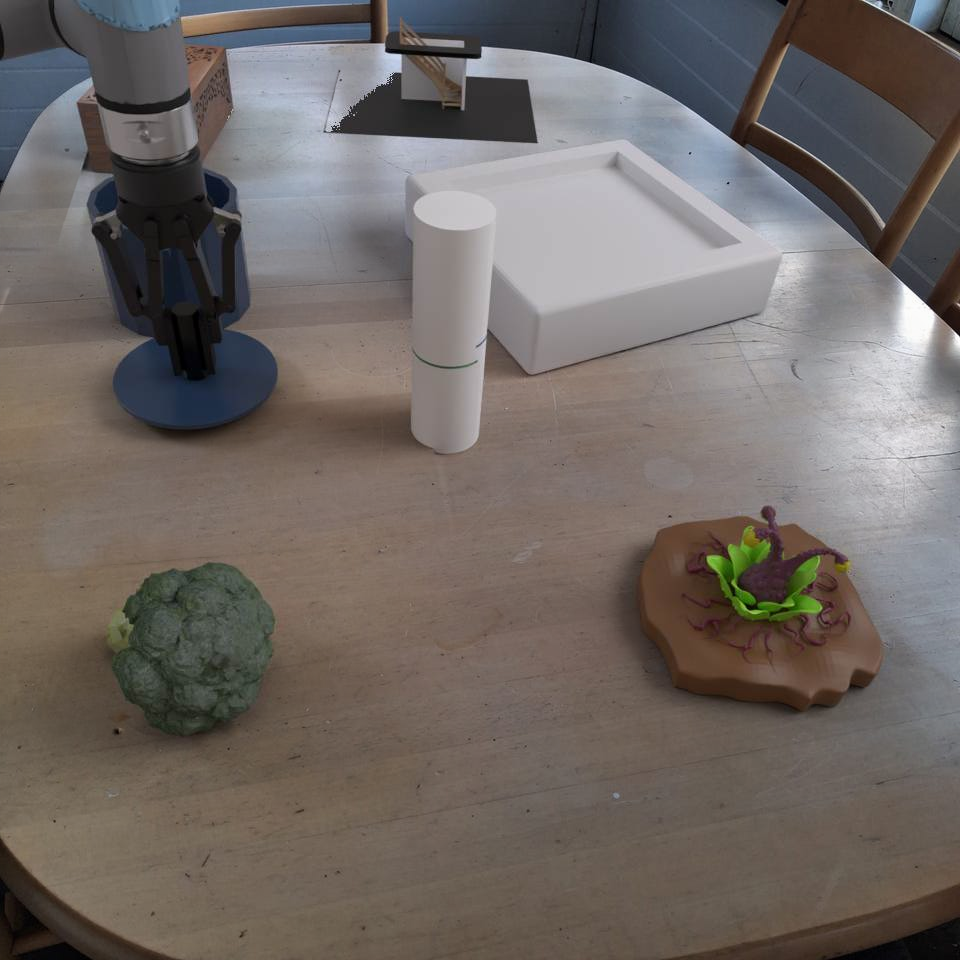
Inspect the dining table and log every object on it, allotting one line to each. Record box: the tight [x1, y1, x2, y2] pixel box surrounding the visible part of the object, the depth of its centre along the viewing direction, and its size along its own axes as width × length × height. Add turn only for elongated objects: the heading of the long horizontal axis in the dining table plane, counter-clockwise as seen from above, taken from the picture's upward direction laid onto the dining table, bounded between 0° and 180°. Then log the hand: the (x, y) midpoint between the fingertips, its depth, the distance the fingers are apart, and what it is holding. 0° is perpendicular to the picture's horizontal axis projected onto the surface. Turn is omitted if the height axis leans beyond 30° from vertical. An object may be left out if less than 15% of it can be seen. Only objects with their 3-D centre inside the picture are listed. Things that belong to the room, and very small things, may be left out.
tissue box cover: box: [76, 43, 234, 174], centre depth 138 cm, size 26×14×10 cm, turn 178°
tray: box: [404, 138, 783, 375], centre depth 116 cm, size 35×35×9 cm
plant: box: [636, 505, 884, 713], centre depth 75 cm, size 20×20×11 cm
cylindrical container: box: [410, 191, 497, 455], centre depth 86 cm, size 7×7×25 cm
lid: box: [112, 301, 279, 431], centre depth 92 cm, size 17×17×9 cm
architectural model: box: [331, 17, 538, 144], centre depth 153 cm, size 35×28×14 cm
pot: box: [86, 167, 252, 339], centre depth 104 cm, size 16×21×14 cm
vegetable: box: [104, 561, 276, 738], centre depth 68 cm, size 12×13×15 cm
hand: (195, 366), depth 94 cm, fingers closed on lid, 3 cm apart
